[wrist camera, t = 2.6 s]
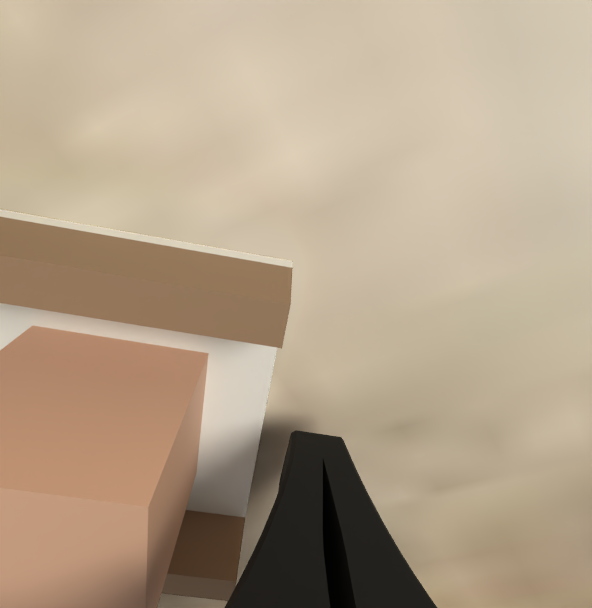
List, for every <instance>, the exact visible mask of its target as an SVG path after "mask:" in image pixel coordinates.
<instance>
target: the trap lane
mask: <svg viewBox="0 0 592 608" xmlns="http://www.w3.org/2000/svg"><path fill="white" fill-rule="evenodd" d="M292 266H293V261H291V260H285V259H279V258H274V257H268V256H262V255H257V254H251V253H245V252H240V251H234V250H228V249H223V248H217V247H211V246H206V245H200V244H194V243H189V242H183V241H177V240H172V239H166V238H160V237H155V236H149V235H143V234H138V233H132V232H126V231H121V230H115V229H109V228H104V227H98V226H92V225H87V224H81V223H75V222H70V221H64V220H58V219H53V218H47V217H41V216H36V215H30V214H25V213H19V212H13V211H8V210H2V209H0V350H1V349H3V348H4V347H5V346H7V345H8V344H9V343H10V342H12V341H13V340H14V339H16V338H17V337H18V336H19V335H21V334H22V333H23V332H25V331H26V330H27V329H29V328H30V327H31V326H32V325H33V326H39V327H46V328H52V329H58V330H65V331H71V332H77V333H84V334H90V335H96V336H103V337H109V338H115V339H122V340H128V341H134V342H141V343H147V344H153V345H160V346H166V347H172V348H179V349H185V350H191V351H198V352H204V353H209V354H208V364H207V374H206V384H205V394H204V403H203V413H202V423H201V433H200V443H199V453H198V463H197V473H196V477H195V480H194V483H193V487H192V490H191V494H190V497H189V501H188V504H187V507H186V511H185V514H184V518H183V521H182V524H181V528H180V531H179V535H178V538H177V541H176V545H175V548H174V552H173V555H172V559H171V562H170V565H169V569H168V572H167V576H166V579H165V582H164V586H163V589H162V593H164V594H173V595H181V596H190V597H199V598H207V599H216V600H225V601H229V599H230V597H231V595H232V593H233V591H234V589H235V585H236V580H237V572H238V565H239V558H240V551H241V543H242V536H243V529H244V522H245V515H246V510H247V505H248V500H249V494H250V489H251V484H252V478H253V473H254V468H255V463H256V457H257V452H258V447H259V441H260V436H261V431H262V426H263V420H264V415H265V410H266V404H267V399H268V394H269V389H270V383H271V378H272V373H273V368H274V362H275V357H276V352H277V348H282V345H283V340H284V335H285V330H286V324H287V319H288V314H289V309H290V304H291V285H292Z"/></svg>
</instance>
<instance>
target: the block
mask: <svg viewBox="0 0 592 608" xmlns="http://www.w3.org/2000/svg"><path fill="white" fill-rule="evenodd" d="M208 354H209V353H204V352H198V351H191V350H185V349H179V348H172V347H166V346H160V345H153V344H147V343H141V342H134V341H128V340H122V339H115V338H109V337H103V336H96V335H90V334H84V333H77V332H71V331H65V330H58V329H52V328H46V327H39V326H33V325H32V326H31V327H30V328H29V329H27V330H26V331H25V332H23V333H22V334H21V335H19V336H18V337H17V338H16V339H14V340H13V341H12V342H10V343H9V344H8V345H7V346H5V347H4V348H3V349H1V350H0V608H157V606H158V603H159V600H160V596H161V593H162V589H163V586H164V582H165V579H166V576H167V572H168V569H169V565H170V562H171V559H172V555H173V552H174V548H175V545H176V541H177V538H178V535H179V531H180V528H181V524H182V521H183V518H184V514H185V511H186V507H187V504H188V501H189V497H190V494H191V490H192V487H193V483H194V480H195V477H196V473H197V463H198V453H199V443H200V433H201V423H202V413H203V403H204V394H205V384H206V374H207V364H208Z"/></svg>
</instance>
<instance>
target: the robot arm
mask: <svg viewBox="0 0 592 608" xmlns="http://www.w3.org/2000/svg"><path fill="white" fill-rule="evenodd" d="M225 608H437V607H436V605H435V604H434V603H433V601H432V600H431V598H430V597H429V595H428V594H427V592H426V591H425V589H424V588H423V586H422V585H421V583H420V582H419V581H418V579H417V578H416V576H415V574H414V573H413V571H412V570H411V568H410V567H409V565H408V563H407V562H406V560H405V559H404V557H403V555H402V554H401V552H400V550H399V549H398V547H397V545H396V544H395V542H394V540H393V539H392V537H391V535H390V534H389V532H388V530H387V528H386V526H385V525H384V523H383V521H382V519H381V518H380V516H379V514H378V512H377V510H376V508H375V506H374V504H373V502H372V500H371V499H370V497H369V495H368V493H367V491H366V489H365V487H364V485H363V483H362V481H361V479H360V476H359V474H358V472H357V470H356V468H355V466H354V464H353V461H352V459H351V457H350V455H349V452H348V450H347V448H346V445H345V443H344V441H343V439H342V438H341V437H336V436H329V435H323V434H316V433H309V432H303V431H294V432H292V433H291V436H290V440H289V444H288V448H287V452H286V457H285V461H284V465H283V469H282V473H281V477H280V483H279V491H278V495H277V498H276V500H275V503H274V506H273V508H272V510H271V513H270V515H269V518H268V520H267V522H266V525H265V527H264V530H263V532H262V534H261V537H260V539H259V541H258V543H257V545H256V547H255V550H254V552H253V554H252V556H251V558H250V560H249V562H248V564H247V566H246V568H245V570H244V572H243V574H242V576H241V578H240V580H239V582H238V584H237V585H236V587H235V589H234V591H233V593H232V595H231V597H230V599H229V601H228V602H227V604H226V606H225Z"/></svg>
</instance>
